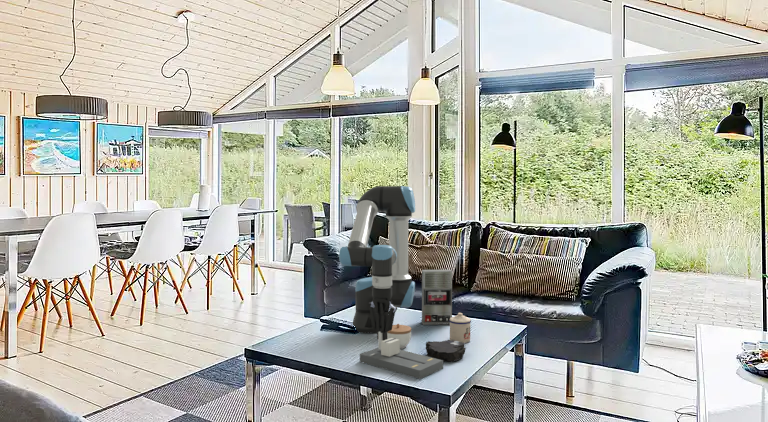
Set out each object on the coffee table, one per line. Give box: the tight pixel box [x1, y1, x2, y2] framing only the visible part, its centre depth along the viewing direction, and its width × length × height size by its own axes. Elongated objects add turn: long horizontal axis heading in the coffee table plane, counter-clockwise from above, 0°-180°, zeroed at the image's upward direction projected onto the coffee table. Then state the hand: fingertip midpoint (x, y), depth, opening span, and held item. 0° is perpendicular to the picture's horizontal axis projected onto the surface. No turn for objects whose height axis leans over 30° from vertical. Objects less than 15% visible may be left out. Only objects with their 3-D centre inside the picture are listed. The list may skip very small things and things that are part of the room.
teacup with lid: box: [449, 312, 472, 344], centre depth 244 cm, size 12×9×12 cm
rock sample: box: [425, 339, 467, 363], centre depth 223 cm, size 18×16×5 cm
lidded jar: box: [387, 323, 412, 350], centre depth 234 cm, size 11×11×9 cm
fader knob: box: [381, 338, 401, 357], centre depth 215 cm, size 4×6×5 cm, turn 140°
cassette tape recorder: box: [421, 269, 453, 326], centre depth 270 cm, size 14×6×25 cm, turn 92°
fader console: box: [359, 347, 444, 380], centre depth 212 cm, size 28×14×3 cm, turn 50°
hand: (382, 348), depth 217 cm, fingers closed
